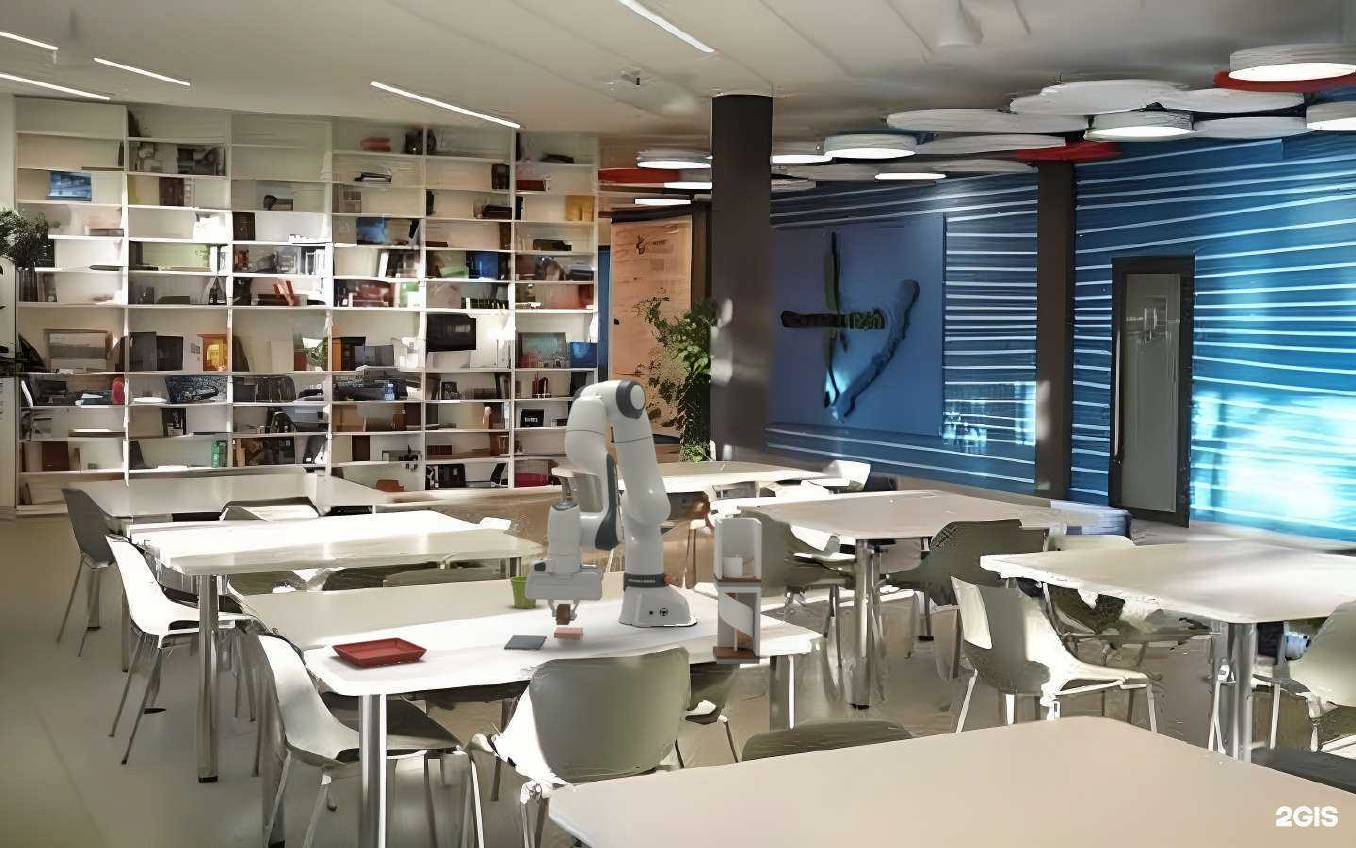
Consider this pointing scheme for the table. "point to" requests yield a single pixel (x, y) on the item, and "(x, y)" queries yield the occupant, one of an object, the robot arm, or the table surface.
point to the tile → (568, 632)
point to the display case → (738, 589)
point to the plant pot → (521, 593)
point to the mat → (525, 642)
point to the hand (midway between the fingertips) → (563, 616)
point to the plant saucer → (379, 652)
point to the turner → (563, 614)
